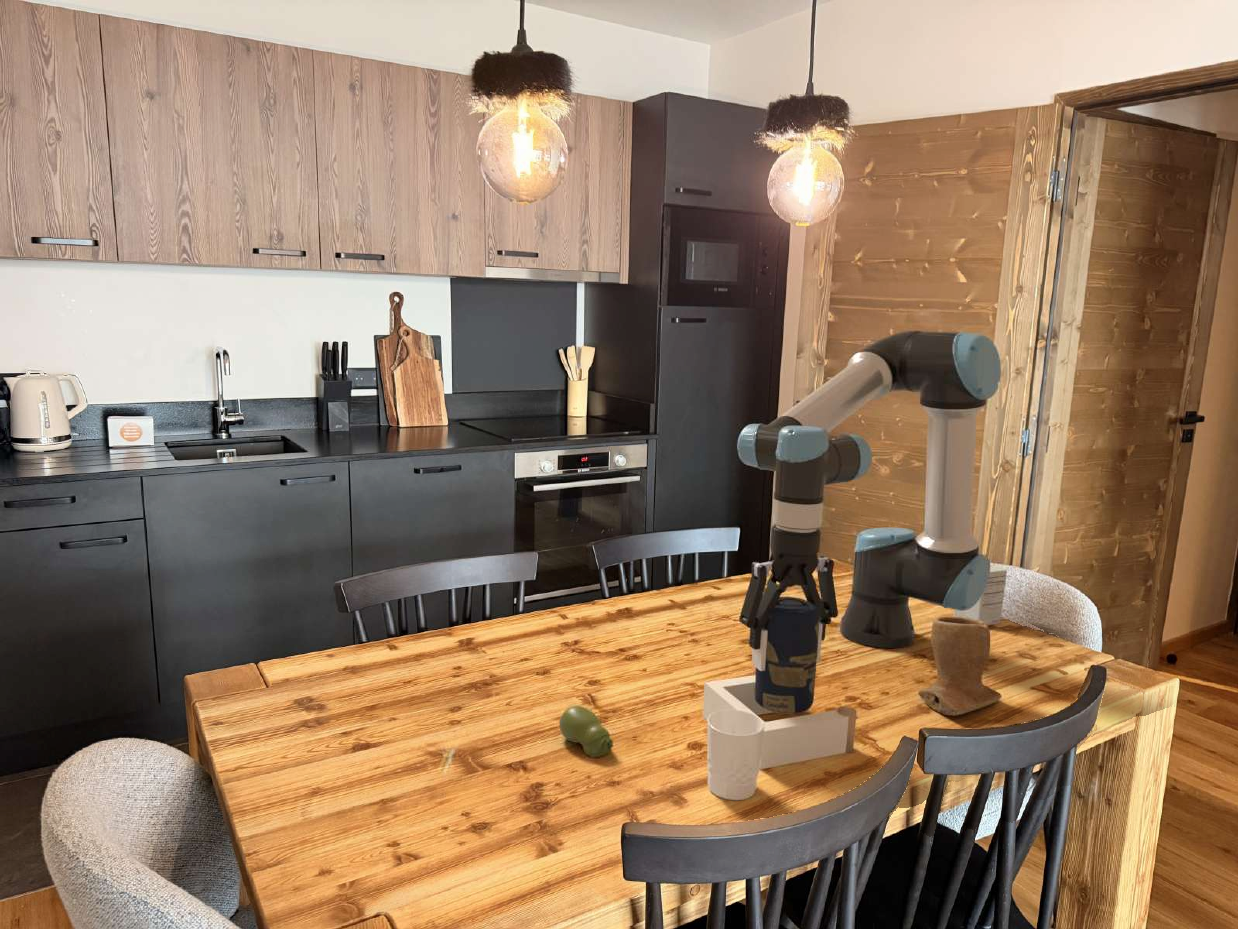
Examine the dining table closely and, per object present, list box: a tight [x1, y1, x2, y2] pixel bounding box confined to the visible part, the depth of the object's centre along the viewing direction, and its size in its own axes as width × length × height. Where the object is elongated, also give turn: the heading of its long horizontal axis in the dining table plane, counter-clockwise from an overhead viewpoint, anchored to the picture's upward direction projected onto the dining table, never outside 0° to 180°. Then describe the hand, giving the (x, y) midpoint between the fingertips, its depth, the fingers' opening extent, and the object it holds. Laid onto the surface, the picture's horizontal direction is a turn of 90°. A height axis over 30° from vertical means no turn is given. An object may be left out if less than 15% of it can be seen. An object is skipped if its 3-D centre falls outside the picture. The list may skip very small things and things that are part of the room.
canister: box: [754, 596, 820, 715], centre depth 138 cm, size 10×10×18 cm
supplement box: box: [953, 564, 1008, 626], centre depth 196 cm, size 7×7×13 cm
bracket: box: [702, 674, 857, 770], centre depth 139 cm, size 17×18×6 cm
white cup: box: [706, 710, 765, 801], centre depth 122 cm, size 8×8×10 cm
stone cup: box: [917, 616, 1002, 717], centre depth 152 cm, size 15×12×15 cm
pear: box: [559, 705, 614, 759], centre depth 133 cm, size 6×5×10 cm
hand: (785, 663), depth 138 cm, fingers closed on canister, 9 cm apart
